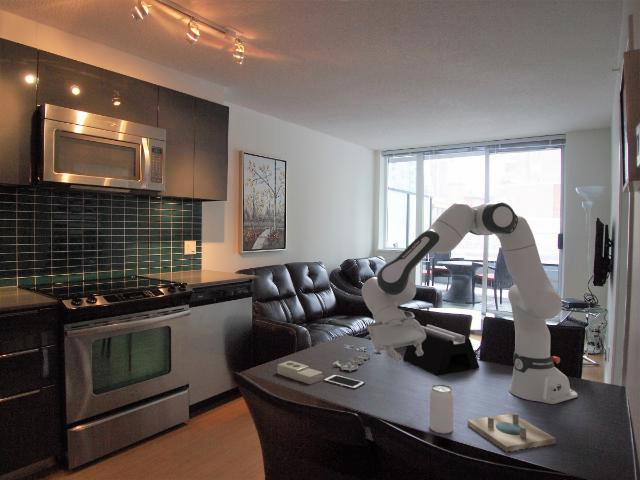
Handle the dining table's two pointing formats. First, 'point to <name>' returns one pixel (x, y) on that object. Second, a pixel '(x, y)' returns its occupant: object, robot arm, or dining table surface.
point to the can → (441, 409)
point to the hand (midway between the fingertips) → (410, 357)
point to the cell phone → (344, 381)
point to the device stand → (443, 352)
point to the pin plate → (511, 432)
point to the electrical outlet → (299, 372)
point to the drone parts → (354, 359)
